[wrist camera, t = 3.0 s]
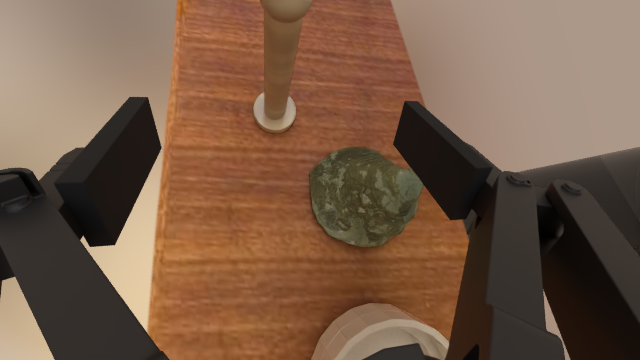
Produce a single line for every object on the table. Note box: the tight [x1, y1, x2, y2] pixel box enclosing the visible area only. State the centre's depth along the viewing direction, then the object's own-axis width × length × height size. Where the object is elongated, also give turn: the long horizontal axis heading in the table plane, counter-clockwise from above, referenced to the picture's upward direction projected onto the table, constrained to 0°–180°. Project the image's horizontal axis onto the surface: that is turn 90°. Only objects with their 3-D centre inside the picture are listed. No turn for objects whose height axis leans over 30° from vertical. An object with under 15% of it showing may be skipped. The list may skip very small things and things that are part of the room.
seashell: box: [310, 147, 423, 247], centre depth 30 cm, size 10×7×10 cm
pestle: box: [253, 0, 312, 133], centre depth 22 cm, size 4×4×18 cm
